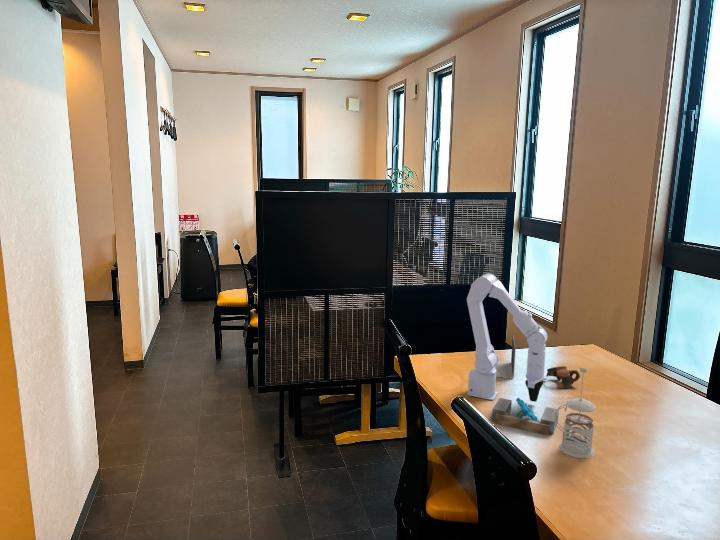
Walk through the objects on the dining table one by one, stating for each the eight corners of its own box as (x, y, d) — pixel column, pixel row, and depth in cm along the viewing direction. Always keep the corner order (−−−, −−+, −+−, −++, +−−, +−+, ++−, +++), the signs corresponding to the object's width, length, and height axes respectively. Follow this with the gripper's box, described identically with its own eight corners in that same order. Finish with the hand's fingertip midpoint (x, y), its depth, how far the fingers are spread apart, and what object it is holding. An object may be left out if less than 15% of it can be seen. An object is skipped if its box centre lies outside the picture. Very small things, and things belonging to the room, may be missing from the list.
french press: (592, 461, 145) (599, 376, 141) (549, 450, 151) (555, 368, 147) (597, 446, 153) (604, 365, 149) (556, 436, 159) (562, 358, 155)
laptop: (481, 361, 226) (483, 332, 224) (512, 364, 223) (513, 334, 221) (481, 376, 209) (482, 345, 206) (513, 379, 206) (515, 347, 204)
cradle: (490, 422, 168) (491, 410, 168) (499, 408, 178) (499, 397, 178) (552, 436, 159) (553, 423, 159) (558, 421, 170) (558, 409, 169)
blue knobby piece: (542, 425, 163) (519, 400, 164) (527, 437, 164) (505, 412, 165) (539, 415, 173) (518, 392, 175) (525, 426, 175) (504, 403, 176)
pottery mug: (550, 390, 196) (544, 368, 199) (549, 392, 205) (544, 371, 208) (583, 384, 193) (577, 362, 196) (581, 387, 202) (576, 366, 205)
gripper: (544, 372, 171) (541, 410, 174) (551, 359, 184) (548, 395, 186) (522, 368, 175) (520, 406, 177) (530, 355, 187) (528, 391, 190)
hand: (533, 400), depth 182 cm, fingers closed
